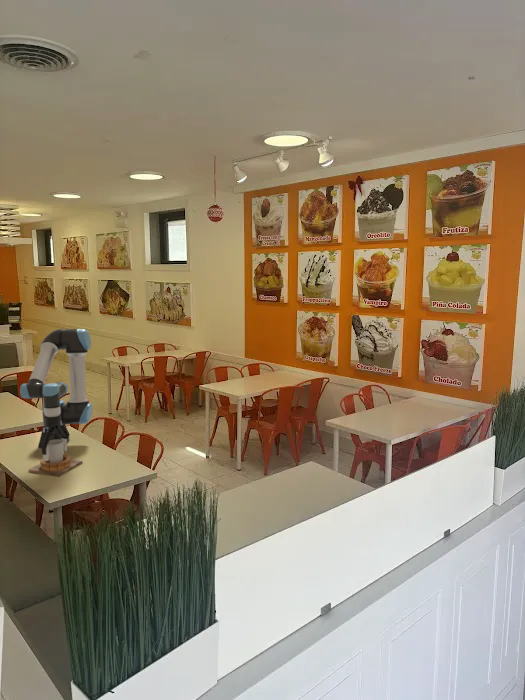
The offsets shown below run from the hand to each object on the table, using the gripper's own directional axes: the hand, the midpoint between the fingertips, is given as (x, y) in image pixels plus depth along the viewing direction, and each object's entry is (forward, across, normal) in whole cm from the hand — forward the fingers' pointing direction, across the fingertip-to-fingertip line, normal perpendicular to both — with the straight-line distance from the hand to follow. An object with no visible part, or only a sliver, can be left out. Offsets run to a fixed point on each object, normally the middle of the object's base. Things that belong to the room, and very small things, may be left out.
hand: (55, 455), depth 265 cm
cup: (+5, 0, 0) cm, 5 cm away
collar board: (+6, 0, 0) cm, 6 cm away
